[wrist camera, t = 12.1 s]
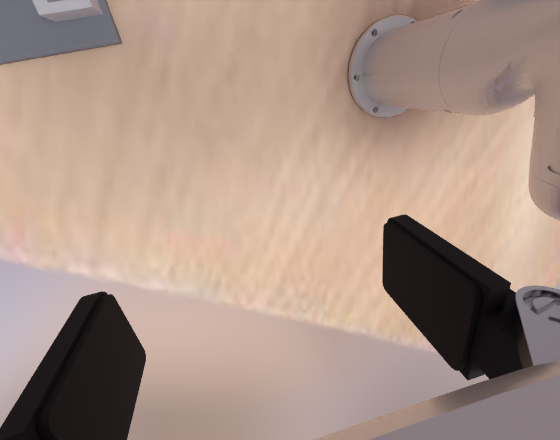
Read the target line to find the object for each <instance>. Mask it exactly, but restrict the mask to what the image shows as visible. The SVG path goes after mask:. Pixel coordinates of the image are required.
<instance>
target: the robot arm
mask: <svg viewBox="0 0 560 440" xmlns="http://www.w3.org/2000/svg"><path fill="white" fill-rule="evenodd" d="M371 32H372V34H371ZM348 73H349V86H350V91H351V93H352V96H353V98H354V100H355V102H356V103H357V105H358V106H359V107H360V108H361V109H362V110H363V111H365V112H366V113H368V114H370V115H373V116H377V117H392V116H396V115H398V114H400V113H402V112H404V111H406V110H407V109H418V110H428V111H438V112H448V113H458V114H469V115H489V114H495V113H499V112H502V111H505V110H508V109H510V108H512V107H514V106H516V105H518V104H520V103H522V102H524V101H525V100H527V99H529V98H530V97H532V96H533V95H535V111H534V118H535V121H534V130H533V139H532V148H531V157H530V166H529V167H530V169H529V192H530V196H531V198H532V200H533V202H534V204H535V205H536V206H537V207H538V208H539V209H540V210H541V211H542V212H544V213H545V214H547V215H549V216H551V217H553V218H555V219H557V220H560V0H484V1H481V2H477V3H474V4H471V5H468V6H465V7H462V8H459V9H455V10H452V11H449V12H446V13H443V14H440V15H437V16H433V17H430V18H427V19H424V20H421V21H417V20H415V19H413V18H412V17H410V16H405V15H392V16H389V17H386V18H383V19H381V20H379V21H377V22H376V23H374V24H373V25H371V26H370V27H369V28H368V29H367V30H366V31H365V32H364V33H363V34H362V36H361V37H360V39H359V40H358V42H357V44H356V46H355V48H354V50H353V53H352V56H351V59H350V64H349V71H348ZM354 76H355V79H354ZM373 108H374V110H373ZM382 281H383V286H384V289H385V290H386V292H387V293H388V294H389V295H390V297H391V298H392V299H393V300H394V301H395V302H396V304H397V305H398V306H399V307H400V308H401V309H402V311H403V312H404V313H405V314H406V315H407V316H408V318H409V319H410V320H411V321H412V322H413V323H414V325H415V326H416V327H417V328H418V329H419V330H420V332H421V333H422V334H423V335H424V336H425V337H426V339H427V340H428V341H429V342H430V343H431V344H432V346H433V347H434V348H435V349H436V350H437V351H438V353H439V354H440V355H441V356H442V357H443V358H444V360H445V361H446V362H447V363H448V364H449V365H450V366H451V368H453V369H454V370H457V371H458V370H459V371H460V372H461V373H462V374H463V376H464V377H465V378H466V379H467V380H470V379H473V378H476V377H479V376H481V375H484V374H485V375H486V376H487V377H488V378H489V380H486V381H483V382H480V383H477V384H474V385H471V386H468V387H465V388H462V389H459V390H456V391H453V392H450V393H447V394H444V395H441V396H439V397H436V398H433V399H430V400H427V401H424V402H421V403H418V404H415V405H413V406H410V407H407V408H404V409H401V410H398V411H396V412H392V413H389V414H386V415H384V416H381V417H378V418H375V419H372V420H369V421H367V422H363V423H361V424H358V425H355V426H352V427H349V428H346V429H344V430H341V431H338V432H335V433H332V434H329V435H327V436H324V437H321V438H318V439H315V440H560V290H558V289H554V288H550V287H545V286H527V287H523V288H521V289H519V290H518V291H517V292H516V293H515V292H514V291H512V290H511V289H509V288H510V285H511V283H510V282H509V281H507V280H505V279H504V278H502V277H501V276H499V275H498V274H496V273H495V272H493V271H492V270H490V269H489V268H487V267H486V266H484V265H483V264H481V263H479V262H478V261H476V260H475V259H473V258H472V257H470V256H469V255H467V254H466V253H464V252H463V251H461V250H460V249H458V248H457V247H455V246H453V245H452V244H450V243H449V242H447V241H446V240H444V239H443V238H441V237H440V236H438V235H437V234H435V233H434V232H432V231H431V230H429V229H427V228H426V227H424V226H423V225H421V224H420V223H418V222H417V221H415V220H414V219H412V218H411V217H409V216H408V215H400V216H396V217H392V218H389V219H388V221H387V223H386V224H384V232H383V279H382ZM145 361H146V354H145V350H144V348H143V347H142V345H141V343H140V341H139V340H138V338H137V336H136V334H135V333H134V331H133V329H132V327H131V325H130V324H129V322H128V320H127V318H126V317H125V315H124V313H123V311H122V310H121V308H120V306H119V304H118V303H117V301H116V299H115V297H114V296H113V295H111V294H110V295H108V294H107V293H106V292H98V293H95V294H91V295H87V296H83V297H82V298H81V299H80V300H79V302H78V303H77V305H76V307H75V308H74V310H73V311H72V313H71V315H70V316H69V318H68V320H67V321H66V323H65V324H64V326H63V328H62V329H61V331H60V333H59V334H58V336H57V337H56V339H55V340H54V342H53V344H52V345H51V347H50V349H49V350H48V352H47V353H46V355H45V357H44V358H43V360H42V362H41V363H40V365H39V366H38V368H37V370H36V371H35V373H34V374H33V376H32V378H31V379H30V381H29V382H28V384H27V386H26V387H25V389H24V390H23V392H22V394H21V395H20V397H19V399H18V400H17V402H16V403H15V405H14V407H13V408H12V410H11V411H10V413H9V415H8V417H7V418H6V420H5V421H4V423H3V424H2V426H1V428H0V440H127V437H128V433H129V429H130V424H131V420H132V416H133V412H134V408H135V403H136V399H137V395H138V391H139V386H140V383H141V378H142V374H143V370H144V366H145Z"/></svg>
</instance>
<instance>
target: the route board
mask: <svg viewBox="0 0 560 440" xmlns="http://www.w3.org/2000/svg"><path fill="white" fill-rule="evenodd" d="M121 43H122V41H121V39H120V36H119V33H118V31H117V28H116V25H115V23H114V20H113V17H112V15H111V12H110V9H109V7H108V4H107V1H106V0H0V65H1V64H7V63H12V62H18V61H24V60H29V59H35V58H41V57H47V56H52V55H58V54H64V53H69V52H75V51H81V50H87V49H92V48H98V47H104V46H109V45H115V44H121Z"/></svg>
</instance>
